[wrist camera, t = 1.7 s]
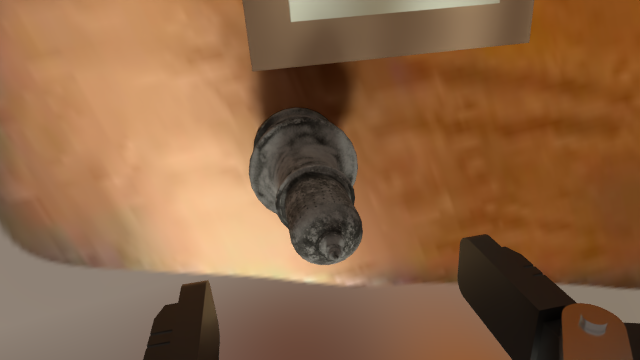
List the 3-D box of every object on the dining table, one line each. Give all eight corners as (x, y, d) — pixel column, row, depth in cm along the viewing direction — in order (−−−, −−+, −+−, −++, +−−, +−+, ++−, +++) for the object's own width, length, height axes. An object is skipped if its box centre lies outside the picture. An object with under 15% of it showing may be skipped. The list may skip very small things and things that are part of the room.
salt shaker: (244, 104, 24) (244, 187, 13) (344, 100, 25) (424, 175, 14) (251, 196, 26) (256, 334, 15) (342, 190, 27) (409, 315, 16)
